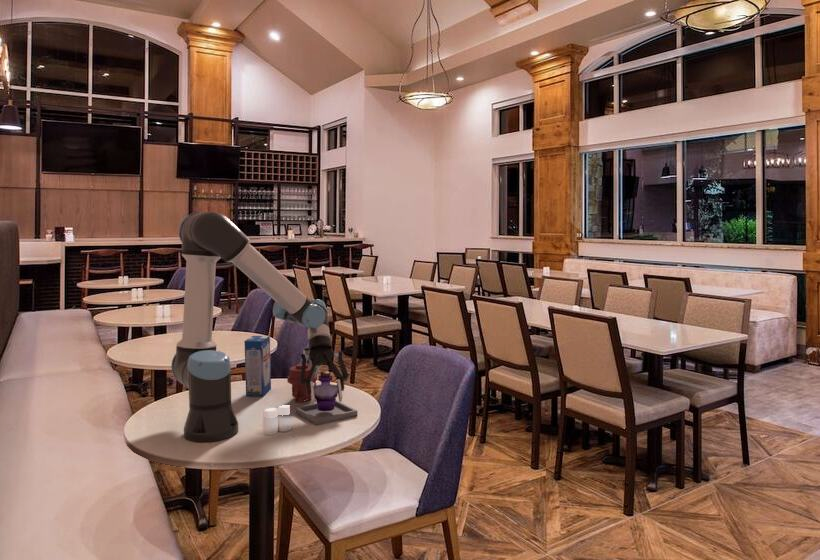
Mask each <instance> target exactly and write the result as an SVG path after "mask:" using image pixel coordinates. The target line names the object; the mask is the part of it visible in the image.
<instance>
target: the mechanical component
mask: <svg viewBox="0 0 820 560" xmlns="http://www.w3.org/2000/svg"><path fill="white" fill-rule="evenodd" d="M311 367H312V366H309V365H307V364H306V368H305V378H306V379H307V377H308V375H309V372H310V369H311ZM301 369H302V363H298V364H296V365H293V366H291V367H290V368H289V375H288V377H287V378H286V379H287V383H288V384H289V385H291V394H292V395H291V396H292V398H294V399H295V398H296V399H295V400H297V399H298V400H297V401H298V403H304V402H305V401H308V400H311V399H310V398H311V393H309V394H308V393H307V387H306V384H301V383H300V379H301ZM317 377H318V376H317V375H314V374H313V377H312V380H311V381H313V384H314V382H316V383H317V381H318V379H317ZM307 399H308V400H307ZM304 400H305V401H304ZM303 401H304V402H303Z"/></svg>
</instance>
